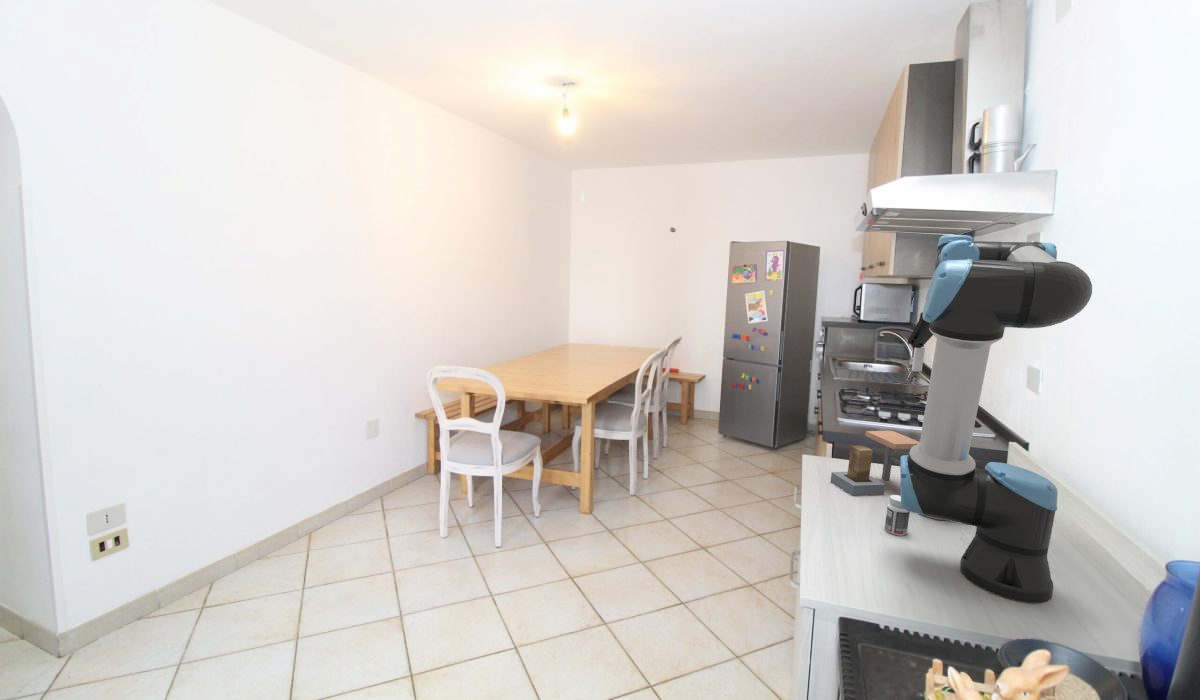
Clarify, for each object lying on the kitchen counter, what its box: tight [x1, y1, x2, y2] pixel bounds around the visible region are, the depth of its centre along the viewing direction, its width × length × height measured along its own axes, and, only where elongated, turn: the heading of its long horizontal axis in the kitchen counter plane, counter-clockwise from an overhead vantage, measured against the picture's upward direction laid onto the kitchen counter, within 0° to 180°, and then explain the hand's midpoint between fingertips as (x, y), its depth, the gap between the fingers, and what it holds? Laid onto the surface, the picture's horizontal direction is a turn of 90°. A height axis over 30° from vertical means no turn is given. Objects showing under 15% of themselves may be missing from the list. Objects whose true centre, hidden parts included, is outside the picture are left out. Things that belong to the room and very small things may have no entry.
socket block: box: [830, 471, 886, 497], centre depth 156 cm, size 10×10×3 cm
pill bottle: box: [884, 494, 911, 537], centre depth 130 cm, size 5×5×8 cm
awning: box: [865, 430, 920, 482], centre depth 157 cm, size 12×9×15 cm
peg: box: [847, 445, 873, 482], centre depth 155 cm, size 4×4×12 cm
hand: (936, 376), depth 145 cm, fingers open, 13 cm apart
